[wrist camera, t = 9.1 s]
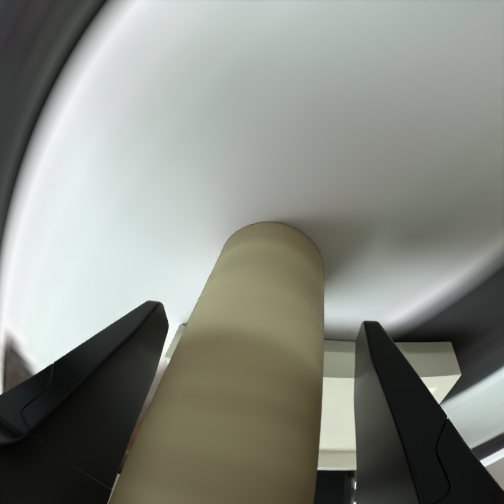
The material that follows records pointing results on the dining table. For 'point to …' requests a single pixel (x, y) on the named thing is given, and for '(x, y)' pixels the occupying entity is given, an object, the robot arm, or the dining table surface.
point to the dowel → (240, 384)
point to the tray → (342, 391)
